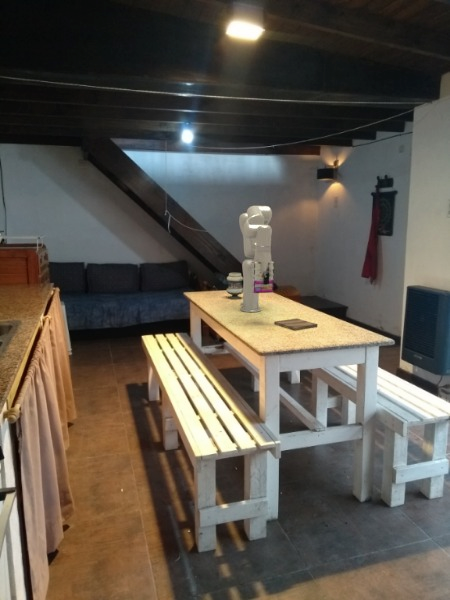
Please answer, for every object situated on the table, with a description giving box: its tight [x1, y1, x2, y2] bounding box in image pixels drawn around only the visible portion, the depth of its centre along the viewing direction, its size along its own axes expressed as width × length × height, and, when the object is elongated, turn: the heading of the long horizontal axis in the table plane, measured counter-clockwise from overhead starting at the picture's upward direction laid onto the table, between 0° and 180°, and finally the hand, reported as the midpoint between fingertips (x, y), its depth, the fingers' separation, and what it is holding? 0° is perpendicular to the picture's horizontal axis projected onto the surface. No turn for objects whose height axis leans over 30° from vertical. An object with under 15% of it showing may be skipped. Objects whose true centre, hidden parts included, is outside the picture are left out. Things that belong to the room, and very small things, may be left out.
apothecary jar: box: [226, 272, 243, 301], centre depth 312 cm, size 12×12×18 cm
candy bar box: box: [251, 260, 275, 294], centre depth 234 cm, size 11×5×16 cm, turn 106°
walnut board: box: [273, 317, 318, 331], centre depth 234 cm, size 16×16×2 cm
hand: (262, 283), depth 234 cm, fingers closed on candy bar box, 6 cm apart
